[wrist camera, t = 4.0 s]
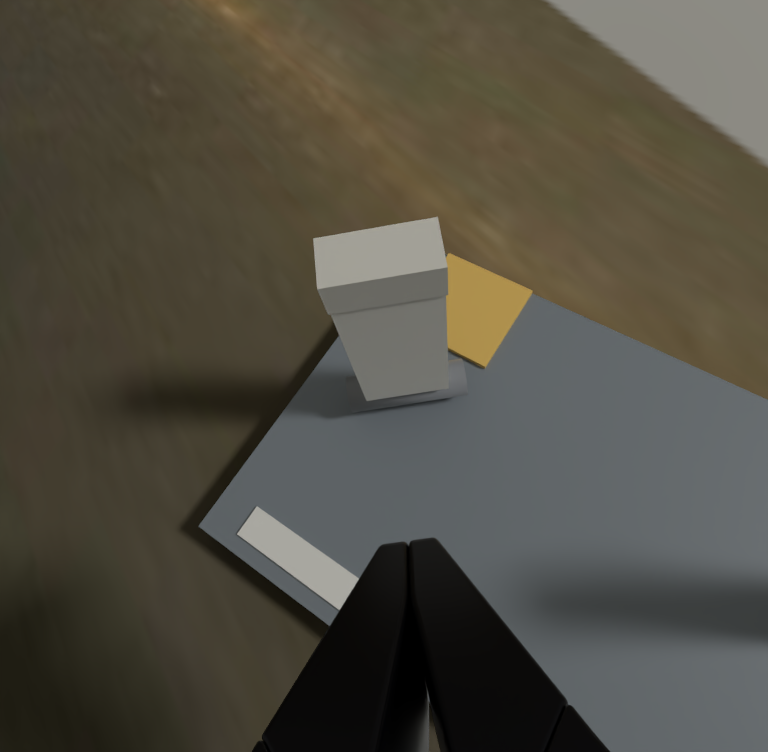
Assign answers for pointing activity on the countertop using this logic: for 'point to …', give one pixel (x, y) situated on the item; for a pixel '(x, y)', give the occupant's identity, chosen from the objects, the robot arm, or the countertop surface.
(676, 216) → the countertop surface
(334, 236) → the lever
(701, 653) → the switch panel
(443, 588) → the robot arm
